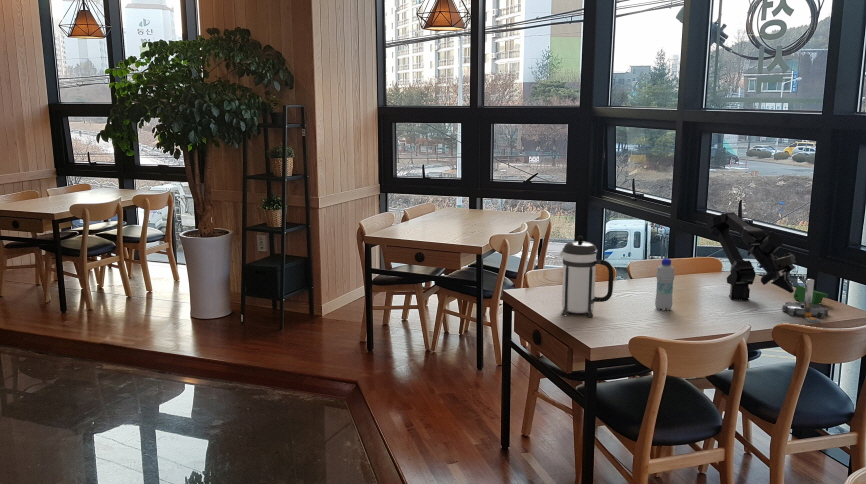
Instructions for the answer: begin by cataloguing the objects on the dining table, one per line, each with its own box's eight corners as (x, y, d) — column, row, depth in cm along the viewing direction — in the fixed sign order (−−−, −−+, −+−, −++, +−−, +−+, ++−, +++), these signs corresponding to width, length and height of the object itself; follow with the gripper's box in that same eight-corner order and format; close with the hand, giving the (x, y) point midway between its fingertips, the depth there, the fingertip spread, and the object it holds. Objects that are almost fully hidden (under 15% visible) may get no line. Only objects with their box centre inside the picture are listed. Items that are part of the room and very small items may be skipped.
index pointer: (807, 322, 258) (807, 319, 258) (805, 319, 261) (805, 316, 261) (819, 322, 257) (819, 320, 257) (817, 320, 261) (817, 317, 260)
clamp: (818, 315, 281) (832, 297, 276) (806, 313, 279) (819, 295, 275) (802, 296, 290) (815, 279, 286) (790, 294, 289) (803, 276, 284)
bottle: (672, 307, 277) (675, 257, 273) (672, 312, 271) (675, 261, 267) (654, 305, 280) (657, 256, 276) (654, 310, 273) (656, 260, 269)
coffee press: (576, 321, 261) (579, 241, 255) (550, 310, 275) (552, 234, 269) (612, 315, 269) (616, 237, 263) (585, 304, 282) (588, 230, 276)
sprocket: (809, 320, 259) (813, 283, 256) (773, 309, 273) (776, 274, 270) (836, 314, 266) (840, 278, 263) (800, 304, 279) (803, 269, 276)
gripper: (772, 250, 261) (800, 285, 256) (792, 242, 274) (819, 276, 268) (748, 267, 268) (776, 301, 263) (769, 259, 281) (795, 291, 276)
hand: (792, 292), depth 267 cm, fingers closed
